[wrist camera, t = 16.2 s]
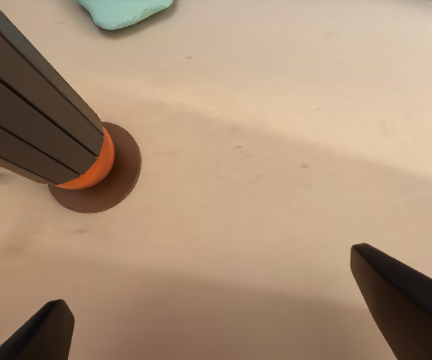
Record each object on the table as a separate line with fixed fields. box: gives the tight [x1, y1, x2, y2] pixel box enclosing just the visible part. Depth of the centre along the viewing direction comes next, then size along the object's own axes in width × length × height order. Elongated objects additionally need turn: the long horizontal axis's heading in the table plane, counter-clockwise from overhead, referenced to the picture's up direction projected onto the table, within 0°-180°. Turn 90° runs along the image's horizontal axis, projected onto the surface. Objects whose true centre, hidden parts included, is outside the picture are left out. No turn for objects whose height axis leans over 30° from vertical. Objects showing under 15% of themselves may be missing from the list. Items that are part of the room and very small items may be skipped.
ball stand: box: [48, 122, 141, 213], centre depth 22 cm, size 8×8×6 cm
